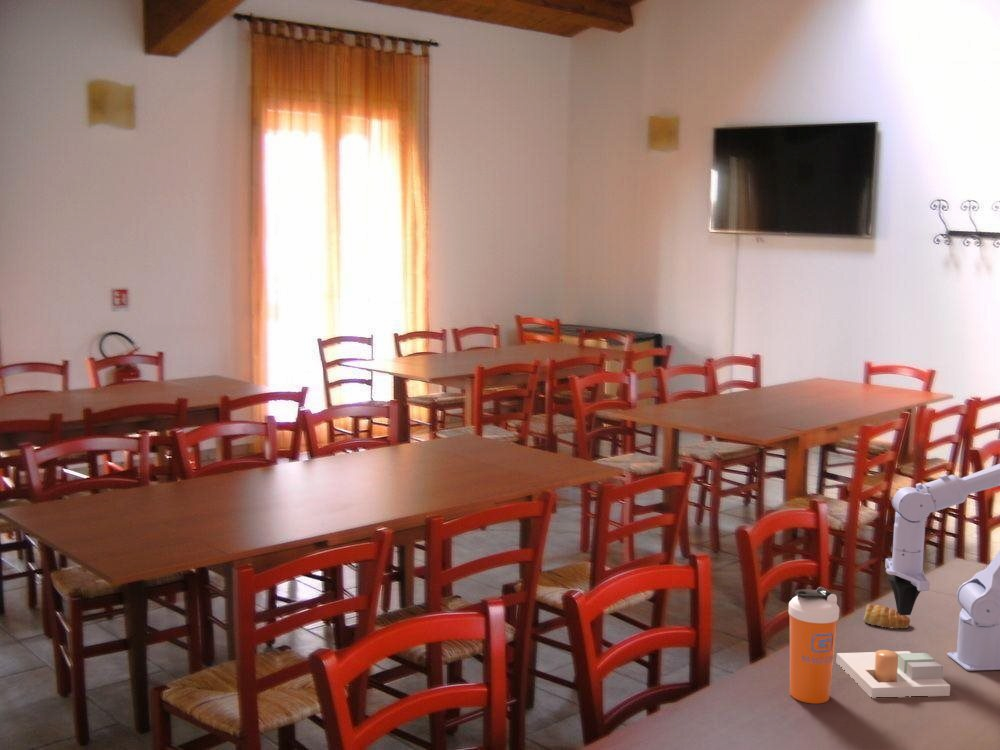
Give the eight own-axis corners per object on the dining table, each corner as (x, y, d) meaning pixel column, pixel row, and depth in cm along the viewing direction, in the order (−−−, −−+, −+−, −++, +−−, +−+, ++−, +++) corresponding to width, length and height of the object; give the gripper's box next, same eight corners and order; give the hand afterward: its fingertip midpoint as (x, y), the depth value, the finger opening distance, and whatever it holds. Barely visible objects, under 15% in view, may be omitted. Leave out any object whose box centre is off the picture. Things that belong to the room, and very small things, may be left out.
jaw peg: (890, 679, 197) (892, 649, 197) (900, 688, 193) (902, 658, 193) (870, 679, 197) (872, 649, 196) (879, 689, 193) (881, 658, 192)
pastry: (910, 622, 228) (911, 606, 227) (907, 633, 222) (908, 616, 221) (866, 615, 232) (867, 599, 231) (862, 626, 226) (862, 609, 226)
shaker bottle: (774, 689, 193) (779, 586, 190) (812, 681, 197) (817, 580, 194) (806, 709, 185) (811, 602, 182) (845, 701, 189) (851, 596, 186)
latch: (926, 665, 200) (927, 652, 199) (934, 671, 197) (935, 659, 196) (896, 666, 199) (897, 653, 199) (904, 672, 196) (904, 659, 196)
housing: (908, 660, 207) (909, 639, 206) (949, 695, 191) (951, 672, 191) (836, 662, 206) (837, 641, 205) (871, 698, 190) (872, 675, 189)
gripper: (872, 538, 212) (868, 601, 213) (906, 560, 197) (901, 628, 199) (905, 537, 212) (901, 600, 214) (941, 559, 198) (937, 627, 200)
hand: (904, 613), depth 207 cm, fingers closed
